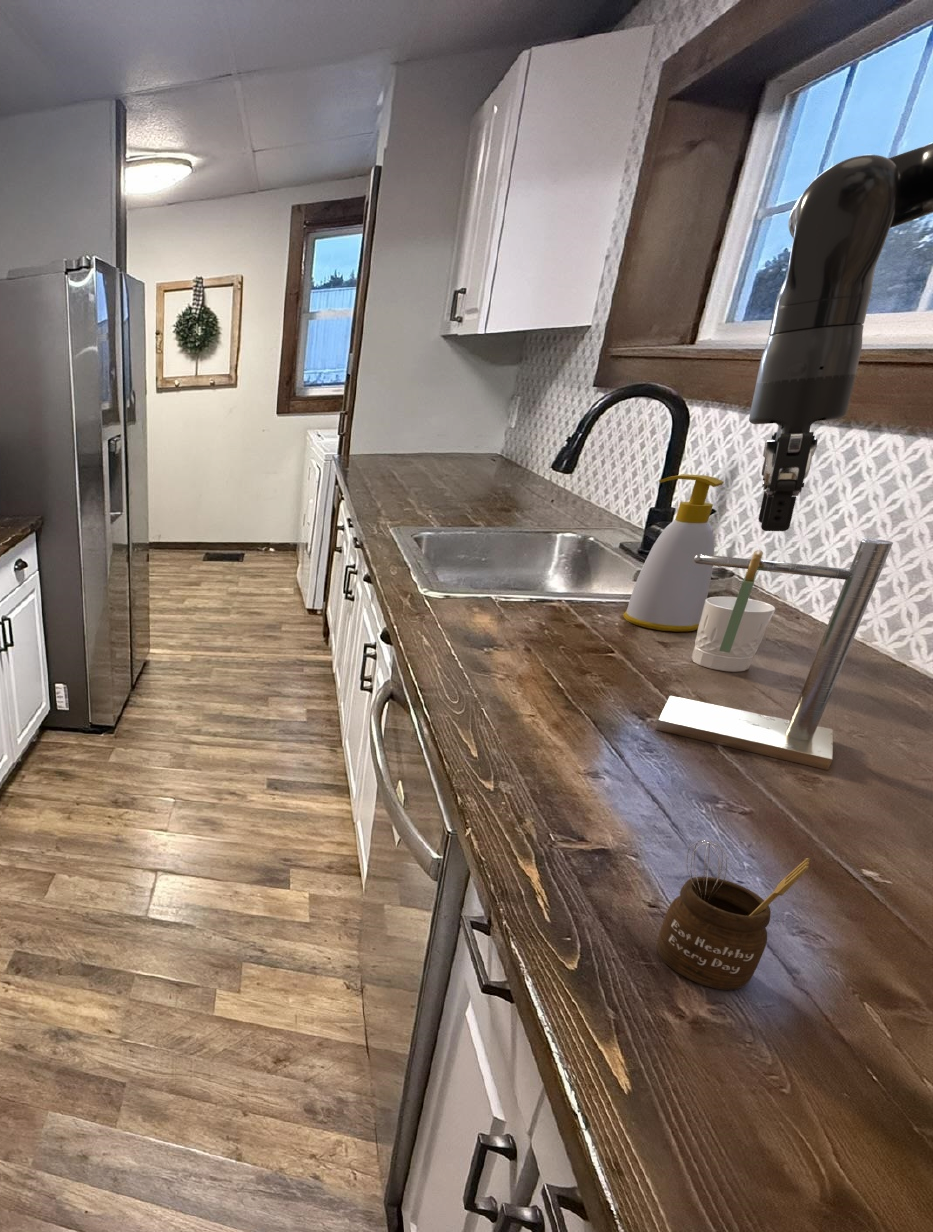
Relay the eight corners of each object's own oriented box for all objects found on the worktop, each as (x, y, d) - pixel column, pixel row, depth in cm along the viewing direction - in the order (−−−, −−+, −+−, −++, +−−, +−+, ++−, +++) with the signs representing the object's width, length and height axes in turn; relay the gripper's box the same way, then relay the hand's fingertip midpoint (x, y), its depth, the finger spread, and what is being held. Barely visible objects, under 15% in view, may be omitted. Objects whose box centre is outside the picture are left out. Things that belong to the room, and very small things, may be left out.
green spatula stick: (718, 651, 89) (750, 557, 85) (724, 638, 93) (754, 548, 89) (729, 652, 89) (762, 559, 84) (734, 639, 93) (765, 549, 88)
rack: (639, 726, 96) (698, 534, 86) (652, 701, 102) (708, 520, 92) (828, 770, 84) (921, 553, 74) (829, 739, 90) (915, 536, 81)
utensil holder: (660, 927, 63) (701, 812, 58) (758, 965, 58) (811, 844, 54) (646, 964, 59) (689, 844, 54) (750, 1008, 55) (806, 882, 50)
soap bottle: (636, 609, 138) (675, 470, 128) (712, 624, 129) (761, 475, 119) (608, 621, 133) (647, 477, 123) (685, 637, 124) (734, 483, 114)
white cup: (758, 677, 108) (781, 614, 104) (690, 668, 112) (710, 607, 108) (747, 659, 114) (768, 599, 110) (683, 651, 118) (701, 593, 114)
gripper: (865, 368, 70) (826, 534, 75) (847, 374, 80) (814, 520, 85) (758, 378, 75) (727, 533, 80) (754, 382, 85) (727, 520, 90)
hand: (772, 526), depth 82 cm, fingers open, 8 cm apart
